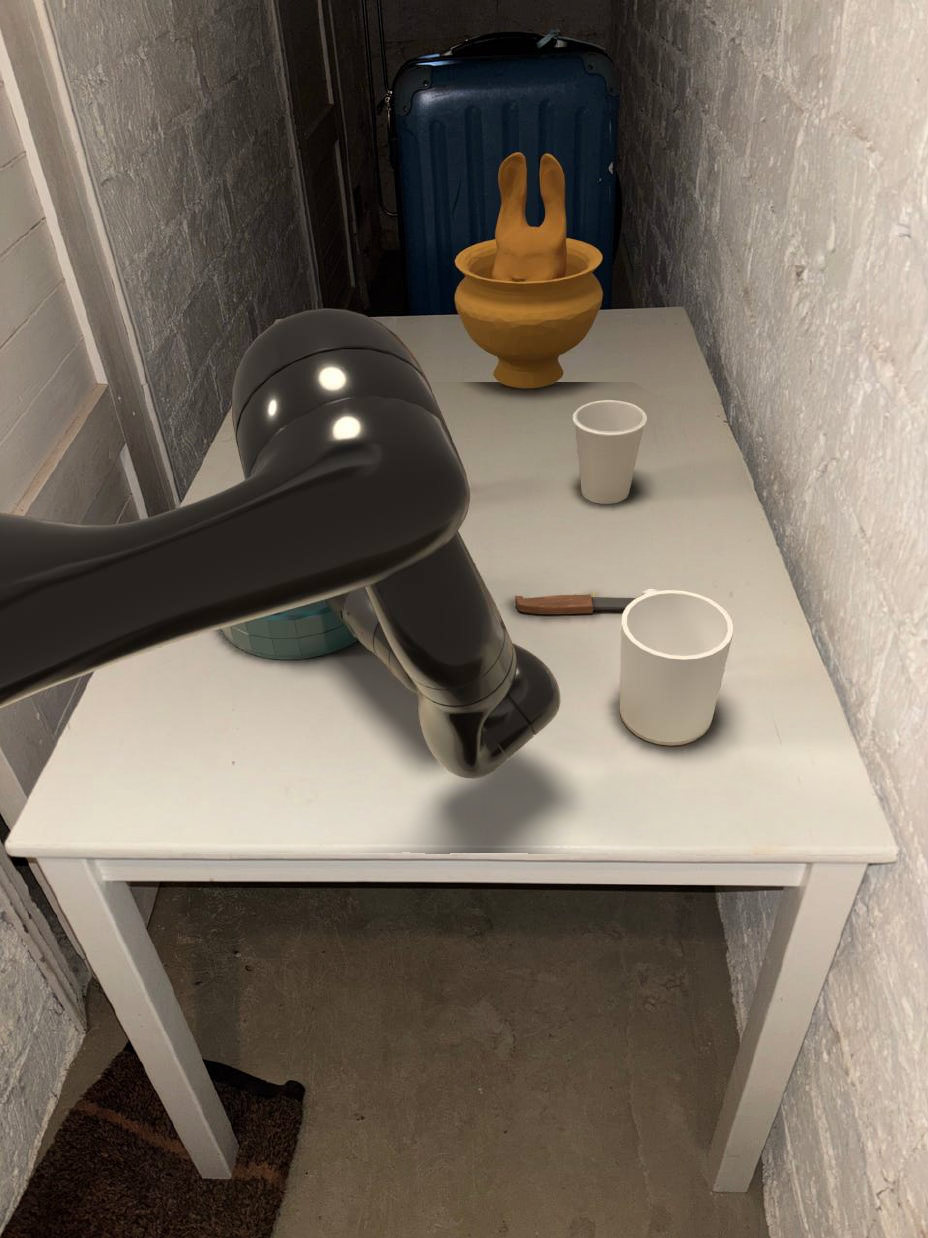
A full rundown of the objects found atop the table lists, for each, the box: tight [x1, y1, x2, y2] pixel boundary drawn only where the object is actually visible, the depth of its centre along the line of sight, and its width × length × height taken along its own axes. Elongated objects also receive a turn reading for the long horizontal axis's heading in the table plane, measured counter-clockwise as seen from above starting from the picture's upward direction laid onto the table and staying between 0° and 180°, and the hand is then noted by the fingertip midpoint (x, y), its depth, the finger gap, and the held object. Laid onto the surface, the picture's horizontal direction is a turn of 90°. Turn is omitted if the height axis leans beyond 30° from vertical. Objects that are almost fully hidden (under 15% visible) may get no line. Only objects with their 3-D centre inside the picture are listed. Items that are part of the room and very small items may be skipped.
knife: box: [514, 590, 637, 615], centre depth 92 cm, size 17×1×3 cm
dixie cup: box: [572, 399, 648, 505], centre depth 107 cm, size 8×8×10 cm
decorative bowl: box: [454, 152, 604, 389], centre depth 128 cm, size 21×21×30 cm
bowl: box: [220, 600, 359, 661], centre depth 94 cm, size 18×18×5 cm
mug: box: [619, 588, 734, 747], centre depth 78 cm, size 11×9×10 cm
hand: (300, 519), depth 90 cm, fingers closed on lollipop, 3 cm apart
